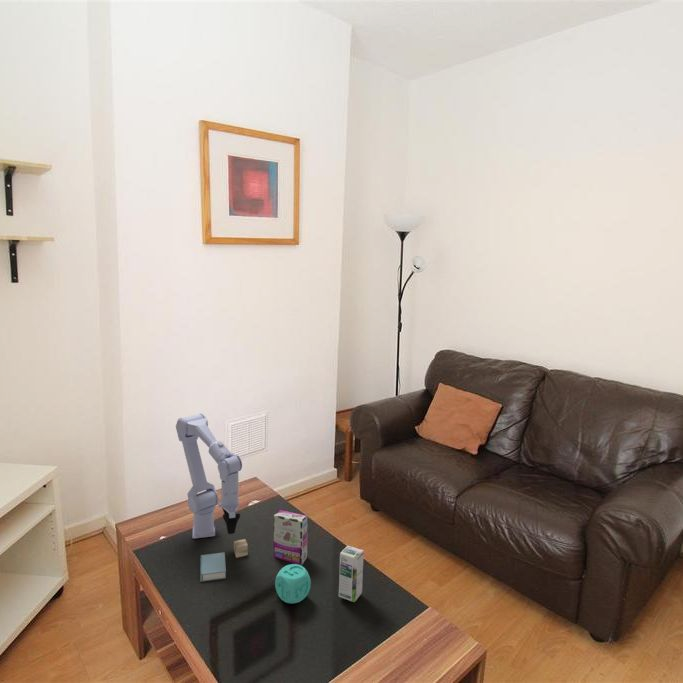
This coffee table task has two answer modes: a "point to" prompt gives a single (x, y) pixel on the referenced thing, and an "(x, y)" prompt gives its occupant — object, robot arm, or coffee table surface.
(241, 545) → the beech block
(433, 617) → the coffee table surface
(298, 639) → the coffee table surface
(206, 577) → the book
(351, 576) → the syrup box
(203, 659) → the coffee table surface
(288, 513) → the candy bar box
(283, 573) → the decorative dice
